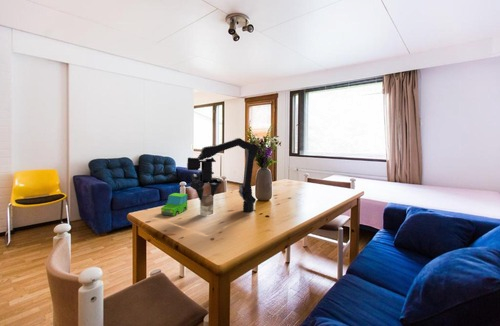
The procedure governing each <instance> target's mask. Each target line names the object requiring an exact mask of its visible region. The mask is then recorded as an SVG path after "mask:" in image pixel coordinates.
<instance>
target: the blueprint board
mask: <svg viewBox="0 0 500 326" xmlns="http://www.w3.org/2000/svg"><path fill="white" fill-rule="evenodd" d="M216 214H217V213H216V212H213V214H211V215H208V216H206V215H202V214H200V212H199V213H198V215H199V216H203V217H207V218H208V217H210V216H213V215H216Z"/></svg>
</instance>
